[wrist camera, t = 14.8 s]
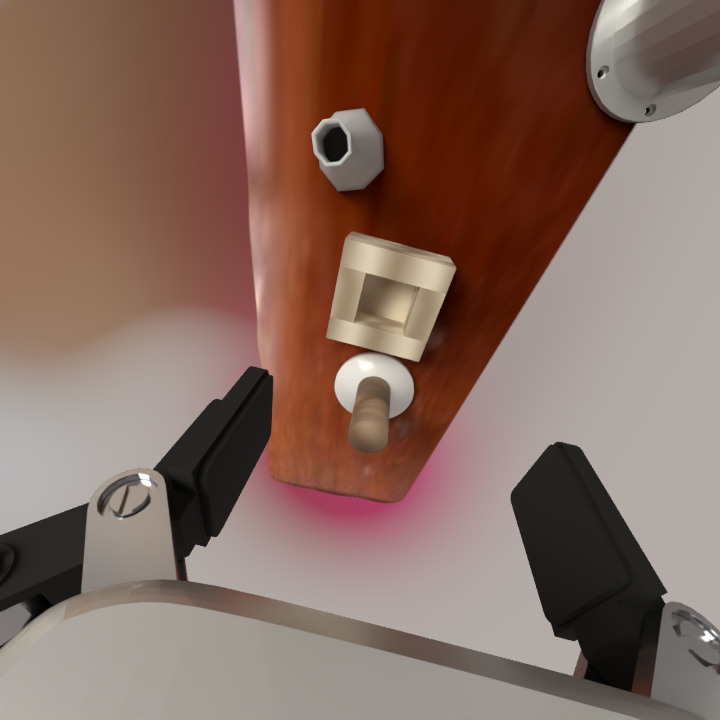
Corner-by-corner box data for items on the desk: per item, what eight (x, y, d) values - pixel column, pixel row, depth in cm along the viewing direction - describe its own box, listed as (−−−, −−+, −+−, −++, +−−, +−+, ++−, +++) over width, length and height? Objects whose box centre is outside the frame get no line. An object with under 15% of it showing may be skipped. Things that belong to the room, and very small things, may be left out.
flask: (369, 92, 29) (356, 57, 21) (395, 173, 32) (392, 172, 24) (304, 130, 31) (268, 113, 23) (334, 203, 34) (312, 211, 26)
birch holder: (449, 257, 36) (456, 268, 32) (417, 343, 42) (418, 361, 38) (352, 231, 36) (345, 238, 31) (333, 321, 42) (326, 337, 38)
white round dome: (389, 338, 42) (389, 342, 41) (427, 399, 47) (427, 404, 46) (321, 371, 47) (319, 376, 46) (361, 424, 51) (361, 429, 50)
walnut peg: (380, 371, 44) (374, 418, 35) (396, 395, 46) (395, 445, 37) (351, 384, 46) (339, 431, 37) (368, 407, 48) (361, 457, 39)
